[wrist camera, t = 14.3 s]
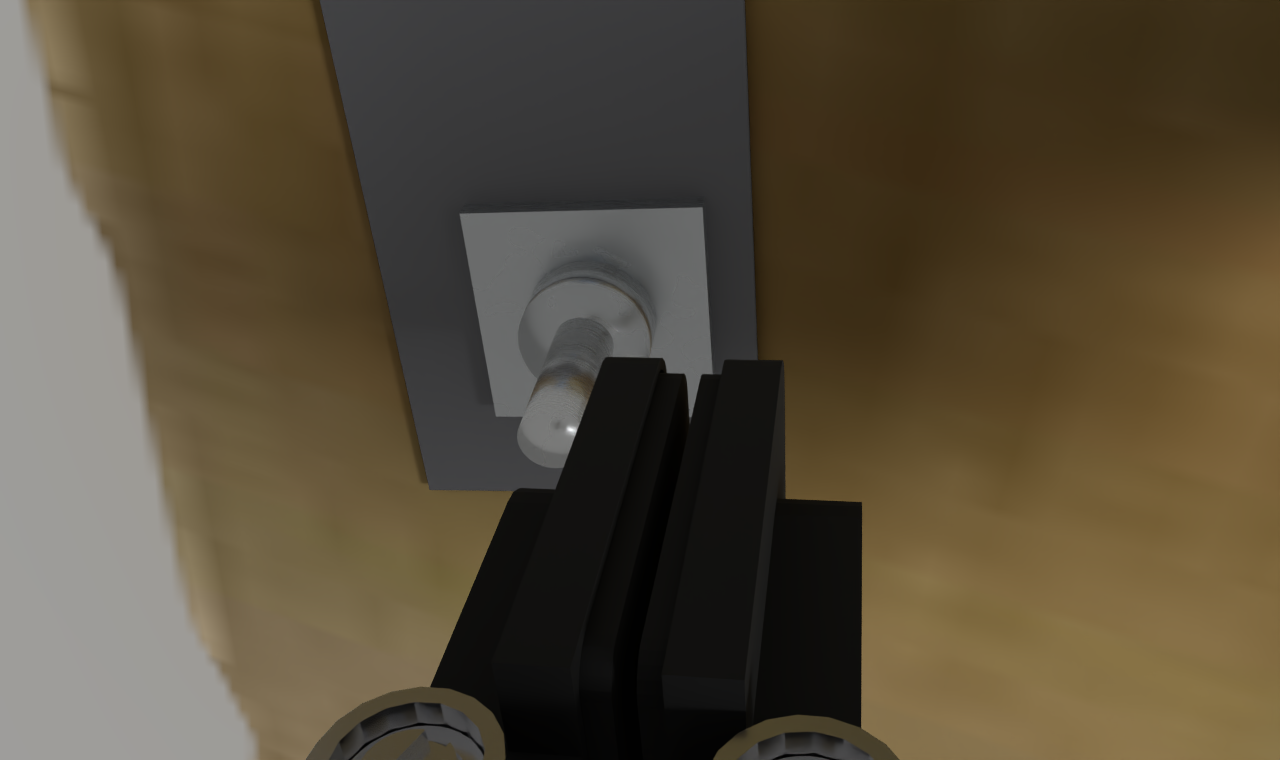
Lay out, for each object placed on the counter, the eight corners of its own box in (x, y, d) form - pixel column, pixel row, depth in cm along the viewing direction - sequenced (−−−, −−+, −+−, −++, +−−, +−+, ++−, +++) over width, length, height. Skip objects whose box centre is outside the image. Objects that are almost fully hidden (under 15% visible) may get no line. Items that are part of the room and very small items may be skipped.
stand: (704, 197, 37) (679, 317, 31) (716, 404, 42) (697, 549, 35) (465, 203, 39) (391, 320, 32) (501, 404, 43) (441, 544, 36)
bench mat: (714, -848, 25) (712, -855, 25) (762, 487, 44) (762, 493, 43) (157, -755, 27) (149, -760, 27) (432, 483, 46) (429, 490, 45)
